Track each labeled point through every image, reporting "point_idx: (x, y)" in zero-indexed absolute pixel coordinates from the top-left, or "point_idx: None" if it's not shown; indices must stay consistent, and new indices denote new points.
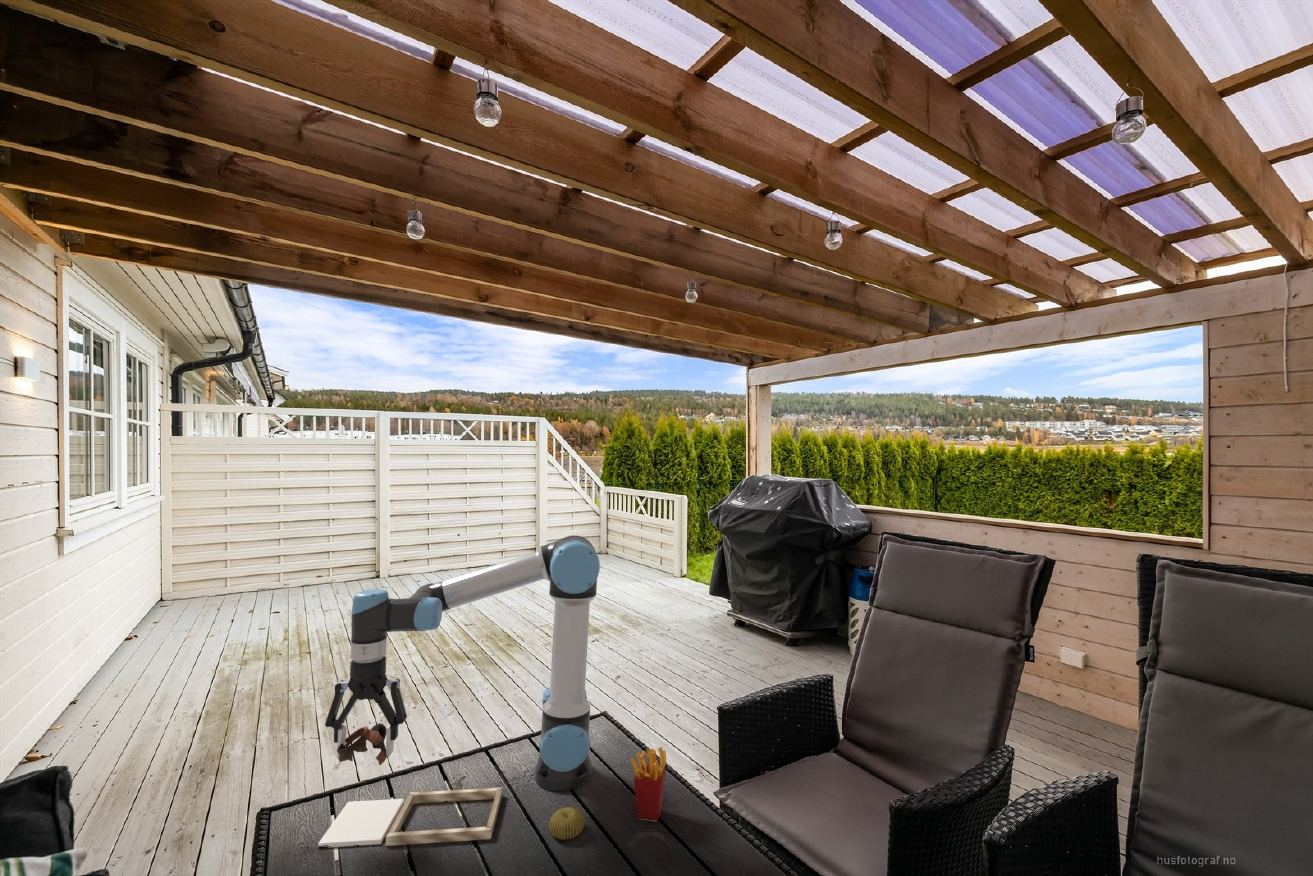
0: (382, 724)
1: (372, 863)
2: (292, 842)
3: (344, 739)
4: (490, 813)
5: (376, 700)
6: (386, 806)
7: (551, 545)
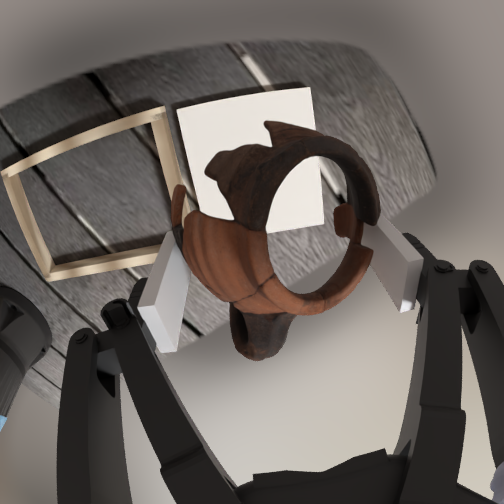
0: (248, 357)
1: (162, 56)
2: (368, 107)
3: (377, 258)
4: (20, 211)
5: (196, 470)
6: (230, 215)
7: None
